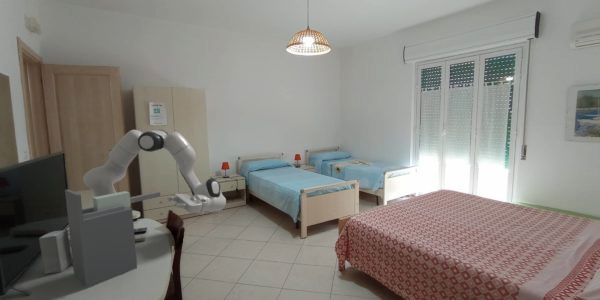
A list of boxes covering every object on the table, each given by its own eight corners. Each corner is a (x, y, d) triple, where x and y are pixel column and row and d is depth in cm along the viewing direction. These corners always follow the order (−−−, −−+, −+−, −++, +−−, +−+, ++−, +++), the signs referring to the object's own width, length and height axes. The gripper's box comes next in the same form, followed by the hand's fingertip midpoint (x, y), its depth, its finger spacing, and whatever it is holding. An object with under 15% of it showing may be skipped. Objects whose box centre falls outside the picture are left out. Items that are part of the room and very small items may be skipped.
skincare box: (61, 272, 117) (57, 236, 116) (41, 274, 116) (37, 238, 114) (73, 262, 126) (69, 228, 124) (55, 264, 124) (51, 230, 123)
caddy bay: (74, 276, 114) (64, 189, 110) (123, 258, 128) (116, 181, 124) (86, 288, 106) (76, 195, 102) (137, 268, 120) (130, 185, 116)
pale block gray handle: (94, 211, 114) (92, 197, 114) (156, 197, 135) (156, 185, 134) (98, 213, 112) (96, 199, 111) (161, 198, 132) (160, 186, 131)
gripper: (190, 191, 157) (165, 189, 146) (208, 203, 143) (181, 202, 132) (187, 202, 157) (162, 201, 146) (205, 215, 143) (178, 215, 133)
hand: (171, 202), depth 139 cm, fingers open, 8 cm apart
